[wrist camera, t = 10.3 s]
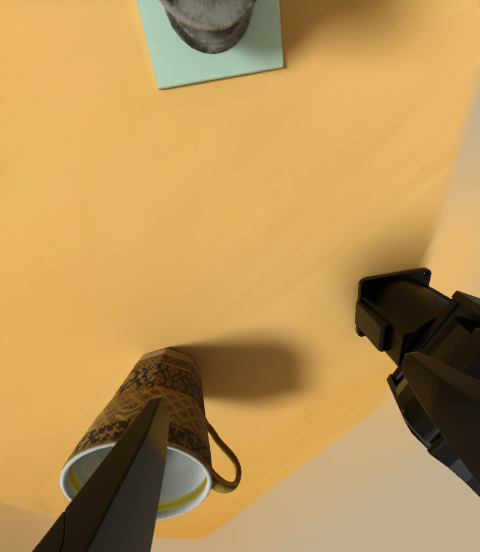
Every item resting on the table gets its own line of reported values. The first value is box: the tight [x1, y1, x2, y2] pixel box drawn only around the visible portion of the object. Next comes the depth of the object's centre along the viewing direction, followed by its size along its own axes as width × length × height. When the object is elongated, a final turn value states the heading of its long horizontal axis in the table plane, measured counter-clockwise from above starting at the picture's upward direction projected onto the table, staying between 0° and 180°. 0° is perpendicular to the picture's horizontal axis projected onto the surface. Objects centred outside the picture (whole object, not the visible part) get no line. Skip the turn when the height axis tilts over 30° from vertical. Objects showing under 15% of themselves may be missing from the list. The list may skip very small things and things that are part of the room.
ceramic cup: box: [60, 348, 241, 520], centre depth 21 cm, size 13×10×10 cm
